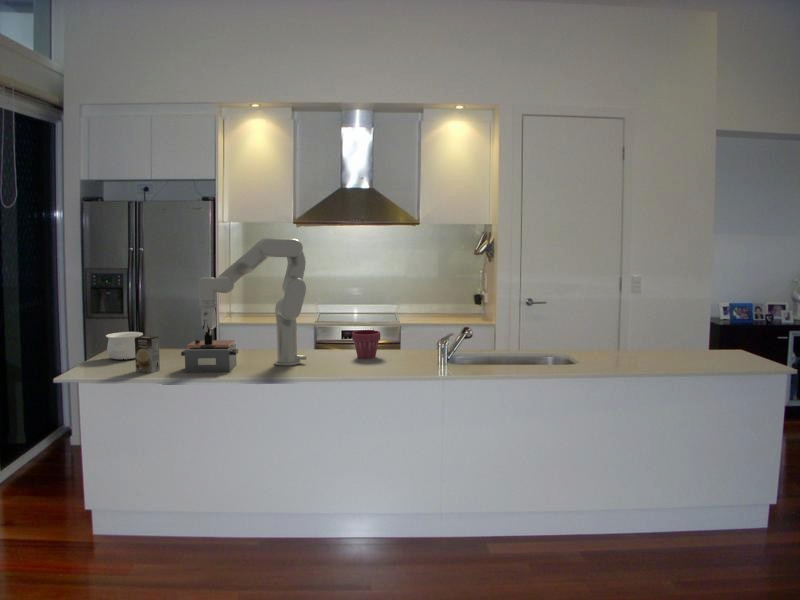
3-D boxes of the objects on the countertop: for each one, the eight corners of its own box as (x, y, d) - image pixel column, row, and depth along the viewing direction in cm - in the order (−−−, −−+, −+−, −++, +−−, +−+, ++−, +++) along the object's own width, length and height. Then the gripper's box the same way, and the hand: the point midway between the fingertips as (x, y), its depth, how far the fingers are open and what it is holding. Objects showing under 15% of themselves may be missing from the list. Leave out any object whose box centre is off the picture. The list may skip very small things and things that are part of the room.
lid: (235, 343, 334) (234, 337, 333) (228, 349, 317) (227, 342, 317) (194, 344, 333) (194, 337, 333) (185, 349, 317) (185, 343, 316)
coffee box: (135, 372, 319) (133, 337, 317) (143, 369, 325) (142, 335, 323) (152, 373, 317) (151, 338, 315) (160, 370, 323) (159, 336, 321)
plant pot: (368, 360, 343) (367, 335, 341) (346, 357, 351) (346, 332, 350) (386, 356, 354) (386, 331, 353) (364, 353, 362) (364, 329, 361)
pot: (136, 362, 342) (135, 337, 341) (100, 363, 341) (99, 338, 340) (149, 354, 364) (148, 331, 363) (115, 354, 363) (113, 331, 361)
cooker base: (241, 364, 334) (240, 343, 333) (234, 372, 318) (234, 349, 317) (189, 365, 333) (188, 343, 332) (179, 372, 317) (178, 350, 316)
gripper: (212, 305, 313) (213, 346, 315) (219, 302, 328) (220, 341, 330) (195, 305, 313) (196, 346, 315) (203, 302, 328) (204, 341, 330)
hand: (208, 343), depth 322 cm, fingers closed
